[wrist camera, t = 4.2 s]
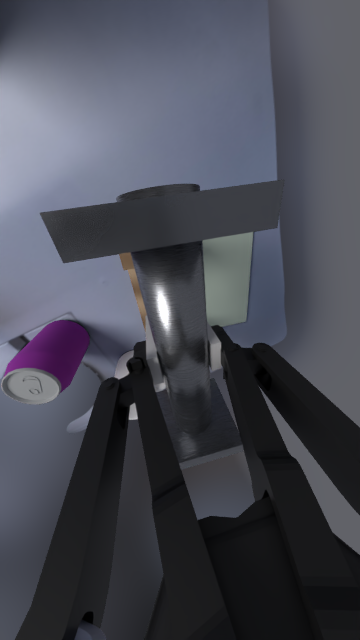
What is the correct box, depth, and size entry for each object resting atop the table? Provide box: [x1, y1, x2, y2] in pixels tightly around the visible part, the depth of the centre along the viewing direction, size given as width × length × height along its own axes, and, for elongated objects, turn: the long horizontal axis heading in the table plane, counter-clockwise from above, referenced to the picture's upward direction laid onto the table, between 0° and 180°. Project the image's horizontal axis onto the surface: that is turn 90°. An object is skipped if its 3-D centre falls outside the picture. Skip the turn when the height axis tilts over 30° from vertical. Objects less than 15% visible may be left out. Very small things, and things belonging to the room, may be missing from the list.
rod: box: [40, 180, 284, 469], centre depth 14 cm, size 21×8×8 cm, turn 8°
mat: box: [203, 232, 253, 327], centre depth 31 cm, size 22×10×1 cm, turn 8°
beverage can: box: [1, 320, 90, 404], centre depth 26 cm, size 8×8×12 cm
